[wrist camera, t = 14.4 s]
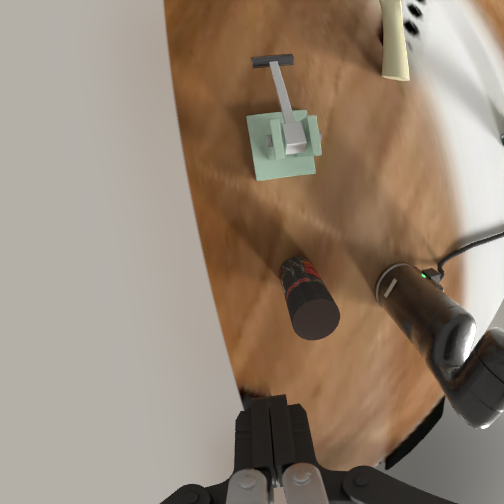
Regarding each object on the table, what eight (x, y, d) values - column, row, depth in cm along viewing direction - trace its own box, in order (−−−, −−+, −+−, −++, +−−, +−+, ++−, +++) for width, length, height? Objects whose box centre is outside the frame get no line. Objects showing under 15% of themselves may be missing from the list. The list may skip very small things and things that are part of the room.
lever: (251, 64, 32) (250, 53, 30) (290, 61, 32) (291, 49, 30) (270, 156, 30) (271, 146, 28) (318, 151, 30) (322, 141, 27)
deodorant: (273, 267, 46) (283, 314, 32) (304, 250, 46) (329, 289, 31) (289, 295, 48) (304, 347, 34) (319, 278, 47) (346, 325, 33)
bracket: (246, 117, 39) (245, 97, 26) (304, 110, 39) (329, 89, 26) (256, 180, 42) (260, 189, 29) (313, 173, 42) (342, 178, 29)
